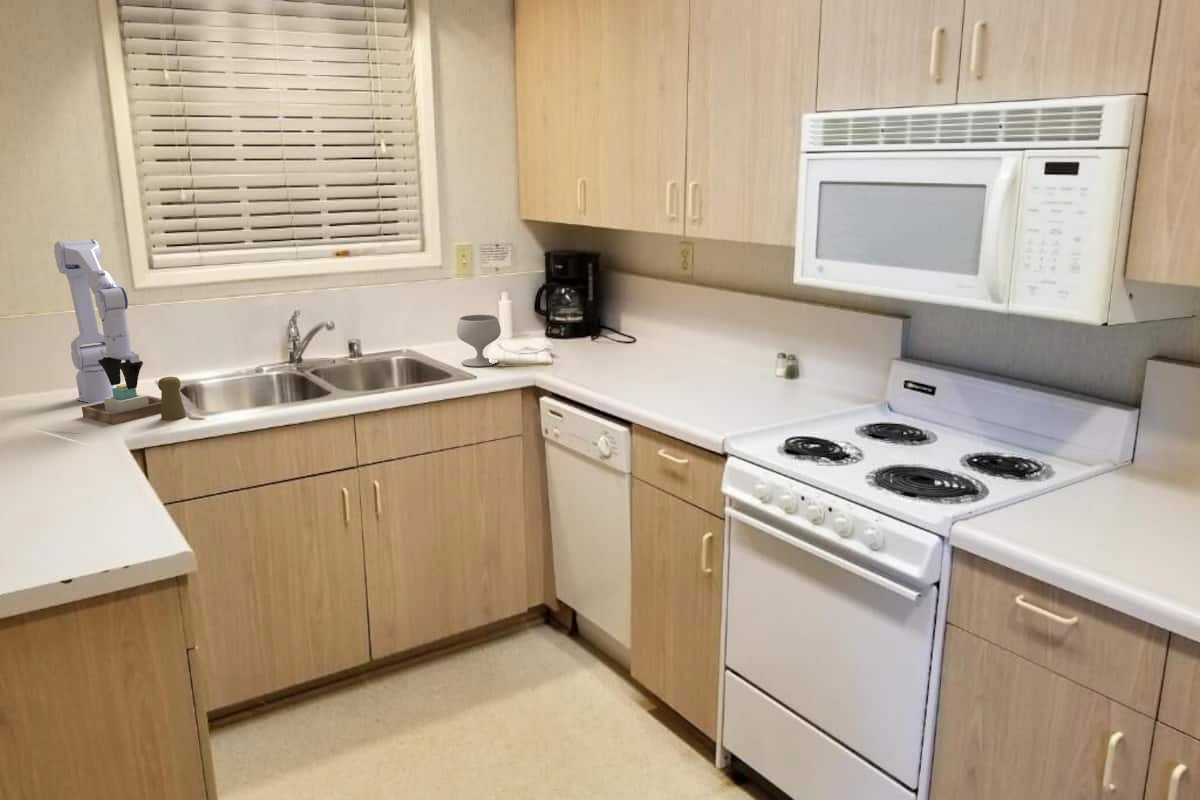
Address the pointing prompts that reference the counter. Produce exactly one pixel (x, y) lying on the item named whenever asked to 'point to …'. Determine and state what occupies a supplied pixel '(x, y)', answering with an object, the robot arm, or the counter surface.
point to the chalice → (478, 335)
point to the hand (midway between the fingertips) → (124, 386)
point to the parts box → (122, 412)
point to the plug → (123, 392)
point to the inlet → (125, 403)
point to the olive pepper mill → (171, 399)
